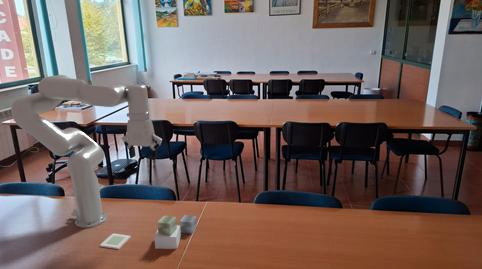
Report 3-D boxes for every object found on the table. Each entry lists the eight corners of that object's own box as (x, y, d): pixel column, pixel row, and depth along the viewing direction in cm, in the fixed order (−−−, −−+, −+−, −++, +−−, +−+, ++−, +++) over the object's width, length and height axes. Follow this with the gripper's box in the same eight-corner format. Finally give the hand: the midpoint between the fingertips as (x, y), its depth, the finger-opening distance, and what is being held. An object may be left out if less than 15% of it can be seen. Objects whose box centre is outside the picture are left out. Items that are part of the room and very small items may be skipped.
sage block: (158, 234, 121) (157, 222, 120) (165, 227, 126) (164, 215, 125) (170, 236, 120) (169, 223, 119) (176, 228, 125) (176, 217, 123)
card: (100, 246, 122) (99, 244, 122) (112, 234, 130) (112, 233, 130) (118, 249, 121) (118, 247, 120) (130, 237, 128) (130, 235, 128)
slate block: (180, 232, 131) (179, 221, 130) (185, 225, 136) (184, 214, 134) (192, 233, 130) (191, 222, 128) (196, 227, 134) (196, 216, 133)
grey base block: (155, 249, 121) (154, 237, 119) (160, 236, 128) (159, 225, 127) (177, 248, 121) (176, 237, 119) (181, 236, 128) (180, 225, 127)
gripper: (114, 117, 126) (119, 159, 131) (155, 119, 122) (158, 162, 127) (125, 113, 133) (129, 153, 138) (164, 115, 129) (167, 156, 134)
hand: (143, 158), depth 132 cm, fingers open, 9 cm apart
